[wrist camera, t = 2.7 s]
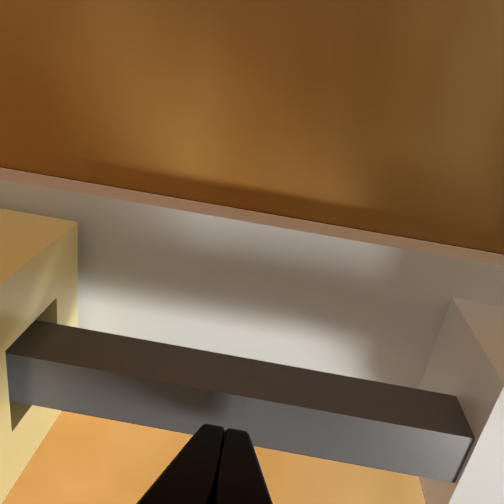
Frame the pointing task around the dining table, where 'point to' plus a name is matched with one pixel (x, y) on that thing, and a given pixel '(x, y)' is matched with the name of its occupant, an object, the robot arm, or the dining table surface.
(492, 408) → the linear slide rail
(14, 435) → the sleeve
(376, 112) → the dining table surface
